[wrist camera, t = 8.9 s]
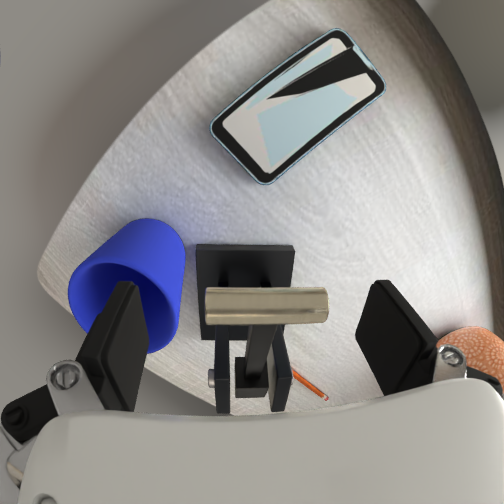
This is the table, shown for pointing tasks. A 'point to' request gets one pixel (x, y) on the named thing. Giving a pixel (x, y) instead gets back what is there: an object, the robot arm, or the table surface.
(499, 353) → the planter
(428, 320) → the table surface
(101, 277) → the mug
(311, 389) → the pencil
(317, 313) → the lever
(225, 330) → the bracket
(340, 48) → the smartphone
